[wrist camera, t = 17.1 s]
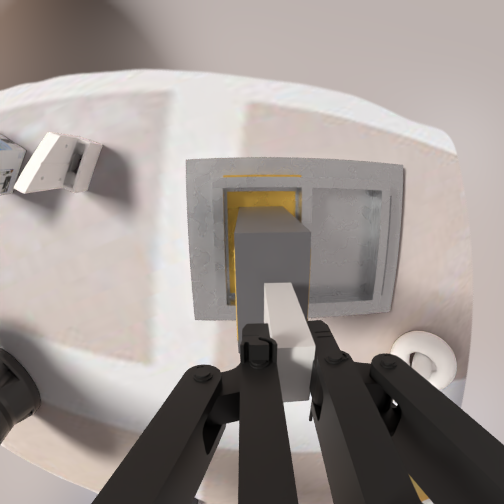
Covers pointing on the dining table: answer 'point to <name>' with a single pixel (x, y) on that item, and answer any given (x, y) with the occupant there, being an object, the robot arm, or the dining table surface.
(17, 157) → the light bulb box
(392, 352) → the white knot
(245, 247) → the grey block
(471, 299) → the dining table surface
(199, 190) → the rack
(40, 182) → the white wedge bracket
